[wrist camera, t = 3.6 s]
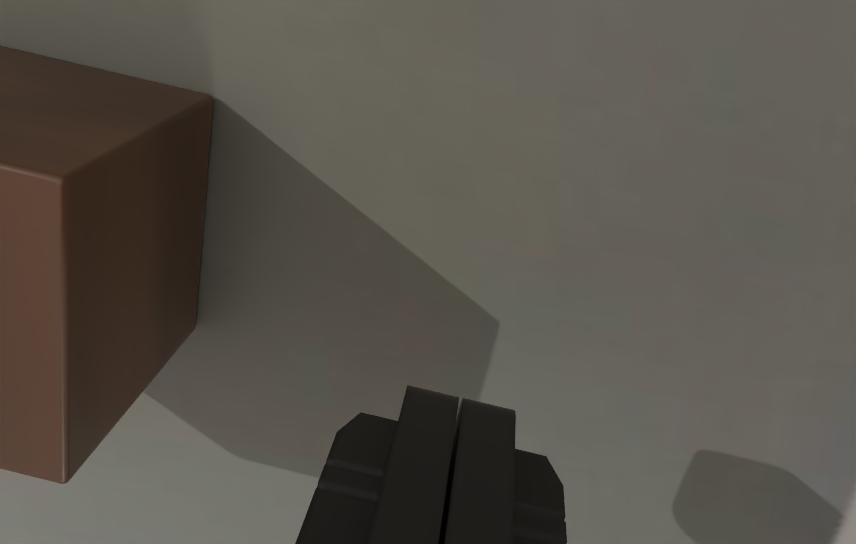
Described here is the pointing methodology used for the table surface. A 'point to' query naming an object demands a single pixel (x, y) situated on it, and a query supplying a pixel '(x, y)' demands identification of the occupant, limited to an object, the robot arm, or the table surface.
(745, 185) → the table surface
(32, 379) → the walnut block
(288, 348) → the table surface
